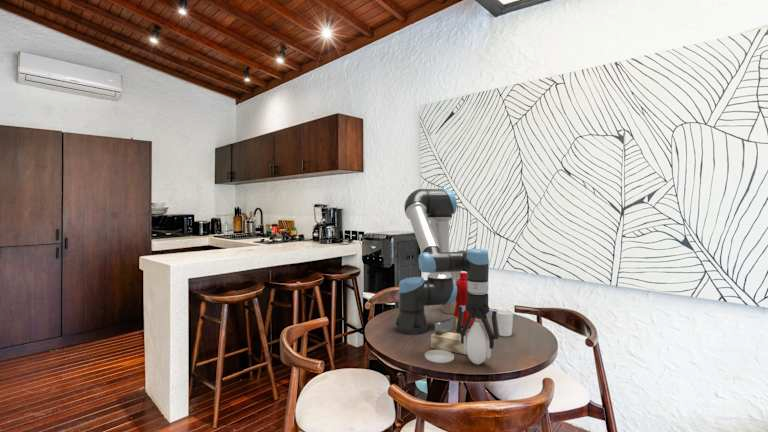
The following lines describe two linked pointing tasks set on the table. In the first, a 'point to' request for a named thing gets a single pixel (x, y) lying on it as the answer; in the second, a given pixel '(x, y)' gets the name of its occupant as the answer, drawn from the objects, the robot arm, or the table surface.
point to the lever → (446, 325)
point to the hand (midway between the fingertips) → (477, 354)
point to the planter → (451, 307)
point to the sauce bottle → (477, 343)
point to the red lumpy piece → (462, 298)
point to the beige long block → (447, 342)
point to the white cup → (504, 322)
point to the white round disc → (439, 356)
